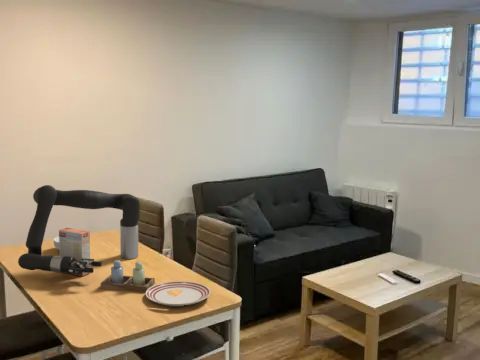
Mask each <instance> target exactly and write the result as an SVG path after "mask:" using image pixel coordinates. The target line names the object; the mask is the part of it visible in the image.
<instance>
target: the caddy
mask: <svg viewBox="0 0 480 360" xmlns="http://www.w3.org/2000/svg"><path fill="white" fill-rule="evenodd" d="M155 283H156V279H155V277H147V276H145V286H140V285H133V275H131V276H130V275H123V284H116V283H111V274H110V275H108V276H107V277H106V278H104V279H103V280H102V281H101V282H100V289H104V290H113V291H115V290H116V291H125V292H126V291H128V292H136V293H137V292H139V293H146V291H147V290H148V289H149V288H150V287H152V286H154V285H156V284H155Z"/></svg>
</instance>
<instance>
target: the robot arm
mask: <svg viewBox="0 0 480 360" xmlns="http://www.w3.org/2000/svg"><path fill="white" fill-rule="evenodd" d="M32 195H33V197H32V199H33V200H34V202H35V203H36V211H35V214H34V217H33V220H32V222H31V224H30V226H29V228H28V229H29V230H28V232H27V237H26V241H25V246H26V248H27V253H26V252H25V253H24V254H22V255H20V256H19V258H18V260H17V263H18V265H19V267H20V268H21V269H23V270H29V271H35V270H39V271H44V272H52V273H53V272H54V273H59V274H68V275H69V274H70V275H73V274H82V273H89V274H93V273H94V268H93V267H97V268H98V267H99V268H101V267H102V261H96V260H95V259H94V258H90V259H84V258H82V260H79V261H77V260H76V259H75V257H68V256H60V255H42V251H43V250H42V245H43V242H44V239H45V233H46V229H47V226H48V225H47V224H48V221H49V218H50V214H51V212H52V209H53V207H54V206H63V207H64V206H65V207H70V208H76V209H85V210H100V209H107V208H108V209H116V210H121V211H122V218H121V219H120V221H119V223H120V225H119V229H120V230H119V233H120V234H119V237H120V238H119V239H120V242H119V243H120V245H119V246H120V258H121V259H124V260H132V259H136V258H138V257H139V221H140V214H141V207H140V206H141V205H140V204H141V202H140V199H138V198H137V197H136V196H134V195H132V194H131V193H108V192H102V191H97V190H90V189H89V190H88V189H72V190H60V189H56V188H55V187H54V186H52V185H49V184H45V185H42V186H40V187H38V188H37V189H36V190H34V193H33V194H32ZM86 265H87V266H86ZM89 267H90V268H89Z"/></svg>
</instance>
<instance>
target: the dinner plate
mask: <svg viewBox="0 0 480 360" xmlns="http://www.w3.org/2000/svg"><path fill="white" fill-rule="evenodd" d="M175 290H178V291H179V290H180V291H181V292H180V293H179V294H178V295H176V296H175V295H172V294H169V293H168V292H169V291H175ZM211 292H212V291H211V289H210V288H209V287H208V285H205V284H202V283H199V282H196V281H195V282H194V281H188V280H186V281H185V280H178V281H177V280H174V281H166V282H161V283H158V284H154V285H153V286H152V287H150V288H149V289H148V290H147V291H146V292H145V296H146V298H147V299H148V300H149V301H151V302H154V303H156V304H159V305H162V306H170V307H185V306H184V305H186V306H190V305H191V306H192V305H195V304H197V303H200V302H203V301H204V300H206V299H207V298H208V297H210V295H211Z"/></svg>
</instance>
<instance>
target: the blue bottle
mask: <svg viewBox="0 0 480 360" xmlns="http://www.w3.org/2000/svg"><path fill="white" fill-rule="evenodd" d="M121 263H122V262H121V260H119V259H115V260H113V265H112V266H111V267H110V272H111V273H110V275H111V283H116V284H123V276H124V267H123V265H121Z"/></svg>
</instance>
